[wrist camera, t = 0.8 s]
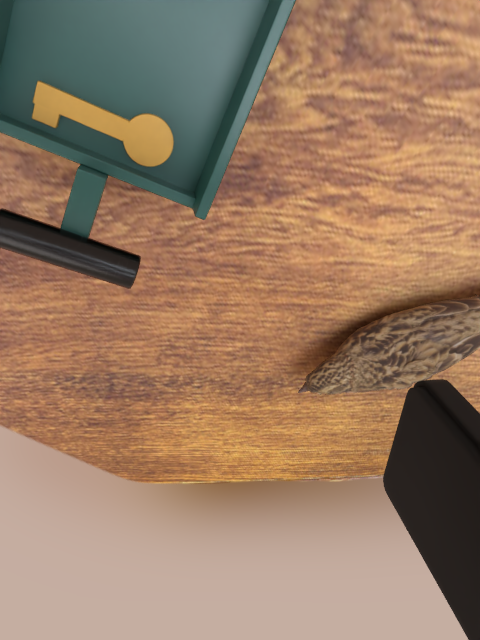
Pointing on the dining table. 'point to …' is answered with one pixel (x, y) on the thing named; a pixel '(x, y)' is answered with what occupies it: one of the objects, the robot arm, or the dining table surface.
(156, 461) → the dining table surface
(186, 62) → the scoop
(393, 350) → the bird model
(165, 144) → the key
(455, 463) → the robot arm
